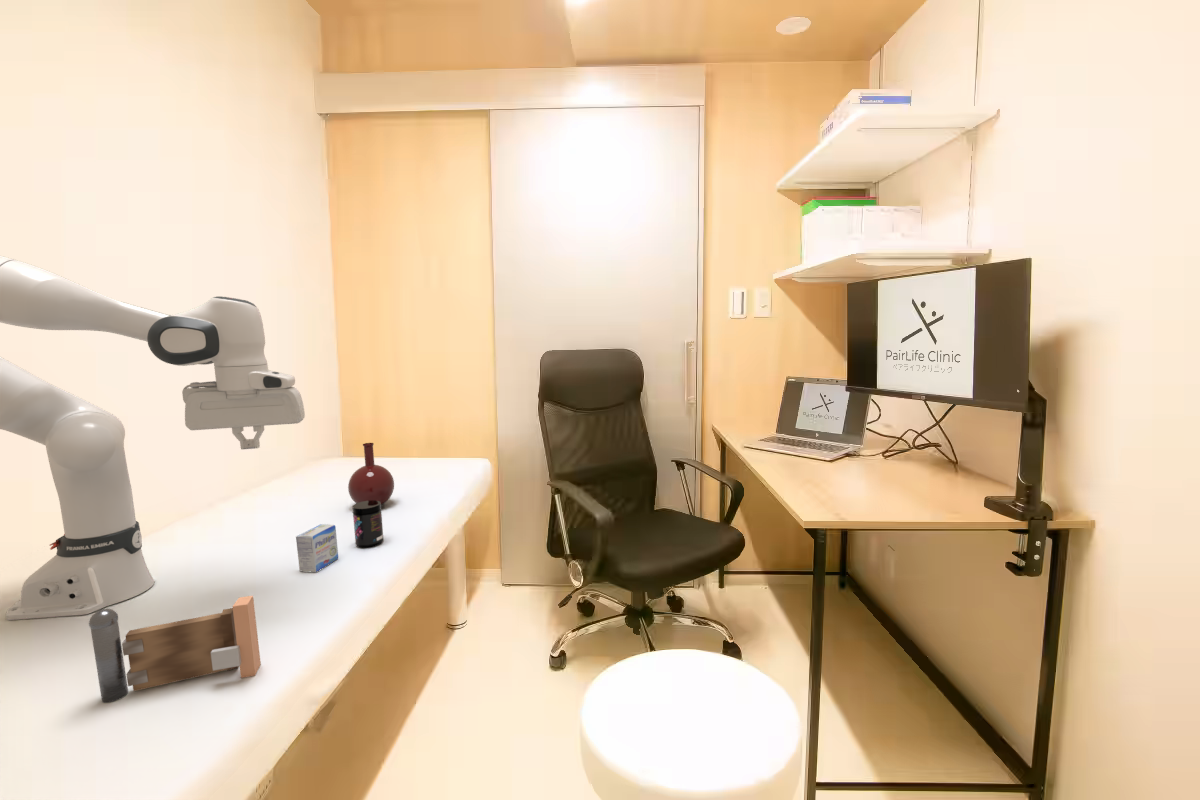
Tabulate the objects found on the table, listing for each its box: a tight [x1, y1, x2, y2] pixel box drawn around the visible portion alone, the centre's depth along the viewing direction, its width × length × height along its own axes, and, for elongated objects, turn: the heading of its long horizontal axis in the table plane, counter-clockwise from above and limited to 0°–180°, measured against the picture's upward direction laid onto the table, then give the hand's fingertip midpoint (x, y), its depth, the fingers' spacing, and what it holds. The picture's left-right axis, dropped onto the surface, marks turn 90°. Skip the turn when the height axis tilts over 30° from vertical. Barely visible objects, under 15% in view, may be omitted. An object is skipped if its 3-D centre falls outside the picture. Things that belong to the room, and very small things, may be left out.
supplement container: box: [351, 500, 384, 549], centre depth 139 cm, size 7×7×10 cm
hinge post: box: [88, 608, 129, 704], centre depth 81 cm, size 3×3×14 cm
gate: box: [121, 607, 239, 692], centre depth 85 cm, size 14×2×9 cm, turn 114°
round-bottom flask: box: [347, 442, 395, 506], centre depth 168 cm, size 13×13×20 cm
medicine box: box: [295, 523, 339, 573], centre depth 127 cm, size 8×4×9 cm, turn 168°
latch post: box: [211, 595, 262, 679], centre depth 86 cm, size 5×4×12 cm
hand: (250, 448), depth 109 cm, fingers closed
